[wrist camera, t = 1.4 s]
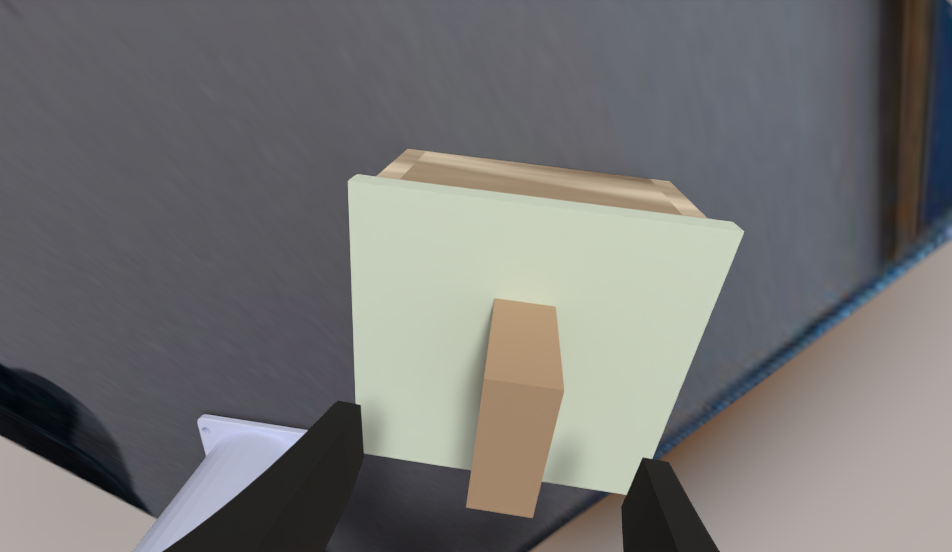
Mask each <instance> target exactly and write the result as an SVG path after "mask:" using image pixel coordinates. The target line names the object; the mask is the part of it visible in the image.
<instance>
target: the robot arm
mask: <svg viewBox="0 0 952 552" xmlns="http://www.w3.org/2000/svg"><path fill="white" fill-rule="evenodd" d="M197 423H198V427H199V431H200V434H201V438H202V442H203V446H204V450H205V454H206V458H205V459H204V460H203V462H202V463H201V464H200V465H199V467H198V468H197V469H196V471H195V472H194V473H193V474H192V476H191V477H190V478H189V480H188V481H187V482H186V483H185V485H184V486H183V487H182V488H181V490H180V491H179V492H178V494H177V495H176V496H175V497H174V499H173V500H172V501H171V503H170V504H169V505H168V506H167V508H166V509H165V510H164V511H163V513H162V514H161V515H160V517H159V518H158V519H157V520H156V522H155V523H154V524H153V526H152V527H151V528H150V529H149V531H148V532H147V533H146V535H145V536H144V537H143V538H142V540H141V541H140V542H139V543H138V545H137V546H136V547H135V549H134V550H133V551H132V552H324V550H325V548H326V546H327V544H328V542H329V540H330V537H331V535H332V533H333V531H334V529H335V527H336V525H337V523H338V521H339V519H340V516H341V514H342V512H343V510H344V508H345V506H346V504H347V501H348V499H349V497H350V495H351V492H352V489H353V487H354V484H355V481H356V478H357V475H358V472H359V470H360V467H361V464H362V461H363V458H364V448H363V432H362V417H361V405H358V404H353V403H348V402H342V401H337V402H336V403H334V404H333V405H332V406H331V407H330V408H329V410H328V411H327V412H326V413H325V414H324V415H323V416H322V417H321V418H320V419H319V420H318V421H317V422H316V423H315V424H314V425H313V426H312V427H311V428H310V429H309V430H305V429H298V428H292V427H285V426H279V425H272V424H266V423H259V422H253V421H247V420H240V419H234V418H227V417H221V416H214V415H208V414H204V415H202V416H201V417H200V418H199V419H198V421H197ZM622 531H623V549H624V552H720V551H719V550H718V548H717V546H716V545H715V543H714V542H713V540H712V538H711V536H710V535H709V533H708V531H707V530H706V528H705V526H704V525H703V523H702V521H701V519H700V518H699V516H698V514H697V512H696V511H695V509H694V507H693V506H692V504H691V502H690V500H689V498H688V496H687V495H686V493H685V491H684V489H683V487H682V485H681V484H680V482H679V480H678V478H677V476H676V474H675V472H674V471H673V469H672V467H671V465H670V464H669V463H668V462H665V461H660V460H654V459H649V458H644V457H643V458H642V460H641V462H640V465H639V467H638V469H637V472H636V474H635V476H634V479H633V481H632V483H631V486H630V488H629V490H628V493H627V495H626V497H625V500H624V502H623V504H622Z"/></svg>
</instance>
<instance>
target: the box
mask: <svg viewBox="0 0 952 552" xmlns="http://www.w3.org/2000/svg"><path fill="white" fill-rule="evenodd" d="M376 177H383V178H391V179H399V180H407V181H415V182H423V183H430V184H438V185H446V186H454V187H462V188H470V189H478V190H485V191H493V192H501V193H509V194H517V195H525V196H533V197H540V198H548V199H556V200H564V201H572V202H580V203H587V204H595V205H603V206H611V207H619V208H627V209H635V210H642V211H650V212H658V213H666V214H674V215H682V216H690V217H697V218H705V219H708V218H707V217H706V216H705V215H704V214H702V213H701V212H700V211H699V210H698V209H697V208H696V207H695V206H694V205H693V204H692V203H691V202H690V201H689V200H688V199H687V198H686V197H685V196H684V195H683V194H682V193H681V192H680V191H679V190H678V189H677V188H676V187H675V186H674V185H673V184H672V183H671V182H670V181H662V180H654V179H646V178H638V177H630V176H622V175H614V174H606V173H598V172H590V171H582V170H574V169H566V168H558V167H550V166H541V165H533V164H525V163H517V162H509V161H501V160H493V159H485V158H477V157H469V156H461V155H453V154H445V153H437V152H428V151H420V150H412V149H407V150H406V151H405V152H404V153H403V154H401V155H400V156H399V157H398V158H397V159H396V160H394V161H393V162H392V163H391V164H390V165H389V166H388V167H386V168H385V169H384V170H383V171H382V172H381V173H379V174H378V175H377V176H376Z"/></svg>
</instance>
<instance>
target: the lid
mask: <svg viewBox="0 0 952 552" xmlns="http://www.w3.org/2000/svg"><path fill="white" fill-rule="evenodd" d="M348 199H349V227H350V255H351V283H352V311H353V339H354V368H355V396H356V404H358V405H361V417H362V432H363V448H364V454H371V455H377V456H383V457H390V458H396V459H402V460H409V461H415V462H422V463H428V464H434V465H441V466H447V467H453V468H460V469H466V470H471V475H470V483H469V490H468V498H467V505H466V507H467V508H473V509H479V510H485V511H491V512H498V513H504V514H510V515H516V516H523V517H529V518H533V514H534V510H535V506H536V502H537V498H538V494H539V490H540V486H541V482H542V481H543V482H549V483H555V484H562V485H568V486H574V487H581V488H587V489H594V490H600V491H606V492H613V493H620V494H625V495H627V493H628V490H629V488H630V486H631V483H632V481H633V479H634V476H635V474H636V472H637V469H638V467H639V465H640V462H641V460H642V458H643V457H644V458H649V459H652V458H653V455H654V453H655V450H656V448H657V445H658V443H659V440H660V438H661V435H662V433H663V431H664V428H665V426H666V423H667V421H668V418H669V416H670V413H671V411H672V408H673V406H674V403H675V401H676V399H677V396H678V394H679V391H680V389H681V386H682V384H683V381H684V379H685V376H686V374H687V371H688V369H689V367H690V364H691V362H692V359H693V357H694V354H695V352H696V349H697V347H698V344H699V342H700V339H701V337H702V335H703V332H704V330H705V327H706V325H707V322H708V320H709V317H710V315H711V312H712V310H713V307H714V305H715V303H716V300H717V298H718V295H719V293H720V290H721V288H722V285H723V283H724V280H725V278H726V275H727V273H728V271H729V268H730V266H731V263H732V261H733V258H734V256H735V253H736V251H737V248H738V246H739V243H740V241H741V239H742V236H743V234H744V231H743V230H742V229H740V228H739V227H738V226H737V225H736V224H735V223H734V222H729V221H721V220H713V219H705V218H697V217H690V216H682V215H674V214H666V213H658V212H650V211H642V210H635V209H627V208H619V207H611V206H603V205H595V204H587V203H580V202H572V201H564V200H556V199H548V198H540V197H533V196H525V195H517V194H509V193H501V192H493V191H485V190H478V189H470V188H462V187H454V186H446V185H438V184H430V183H423V182H415V181H407V180H399V179H391V178H383V177H375V176H368V175H360V174H357V175H355V176H354V177H353V178H351V179H350V180H349V181H348Z"/></svg>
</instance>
